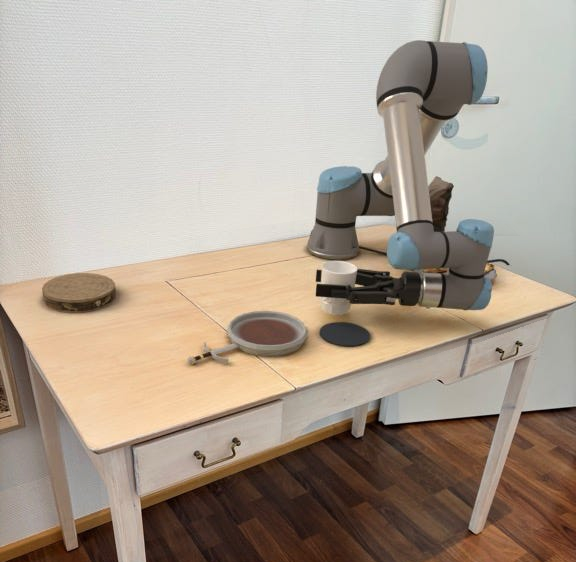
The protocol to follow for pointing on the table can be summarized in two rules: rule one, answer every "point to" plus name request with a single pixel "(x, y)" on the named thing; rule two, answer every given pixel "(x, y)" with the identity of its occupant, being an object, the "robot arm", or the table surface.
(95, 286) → the tin can
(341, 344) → the coaster
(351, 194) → the robot arm
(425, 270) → the food plate
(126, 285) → the table surface
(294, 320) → the frying pan
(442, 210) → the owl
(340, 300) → the white cup
